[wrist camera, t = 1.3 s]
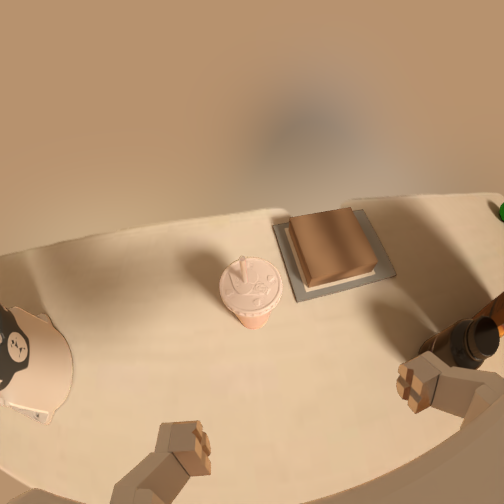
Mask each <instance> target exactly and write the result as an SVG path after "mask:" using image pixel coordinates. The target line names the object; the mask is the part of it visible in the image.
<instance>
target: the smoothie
mask: <svg viewBox="0 0 504 504" xmlns="http://www.w3.org/2000/svg"><path fill="white" fill-rule="evenodd" d="M219 291H220V296H221V298H222V301H223V303H224V304H225V305H226V307H227V308H228V309H229V310H231V311H232V312H234V313H235V315H236V316H237V317H238V319H239V320H240V321H241V323H242V324H243V325H244V326H245V327H246V328H249V329H259V328H261V327H263V326H264V325H265V324H266V322H267V320H268V318H269V315H270V313H271V311H272V309H273V308H274V307H275V306H276V305H277V303H278V302H279V300H280V298H281V295H282V279H281V276H280V273H279V272H278V270H277V269H276V267H275V266H274V265H273V264H271V263H270V262H268V261H266V260H264V259H261V258H257V257H246V258H245V256H240V257H239V259H238V260H236V261H234V262H233V263H231V264H230V265H229V266H228V267H227V268H226V269H225V270H224V271H223V273H222V275H221V278H220V281H219Z"/></svg>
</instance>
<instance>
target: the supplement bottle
mask: <svg viewBox="0 0 504 504" xmlns="http://www.w3.org/2000/svg"><path fill="white" fill-rule="evenodd" d="M499 342H500V336H499V329H498V327H497V325H496V323H495V322H494V320H493V319H492V318H490V317H488V316H481V317H479V318H478V319H476V320H473V319H462V320H460V321H458V322H456V323H455V324H453V325H452V326H450V327H448V328H447V329H445V330H443V331H442V332H440V333H438V334H437V335H435V336H433V337H431V338H430V339H428V340H427V341H426V342H425V343H424V344H423V345H422V347H421V349H420V351H419V355H421V354H423V353H425V352H427V351H430V352H432V353H433V354H434V355H435V356H437V357H438V358H439V359H440V360H442V361H443V362H444V363H445V364H447V365H448V366H449V367H450V368H451V367H460V368H466V369H473V370H477V369H478V368H479V367H480V366H481V365H482V363H483V362H484V360H485V359H487V358H488V357H491V356H492V355H493V354H495V352H496V351H497V349H498V346H499ZM419 355H418V356H419Z"/></svg>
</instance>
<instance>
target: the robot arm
mask: <svg viewBox="0 0 504 504" xmlns="http://www.w3.org/2000/svg"><path fill="white" fill-rule="evenodd" d="M398 373H399V374H400V376H399V377H398V379H397V383H396V387H397V392H398V394H399V396H400V397H401V398H402V399H404V400H408V406H409V407H410V409H411V410H412V411H413V412H414V413H415V414H417V413H419V412H420V411H422V410H424V409H426V408H428V407H430V406H431V407H433V408H436V409H439V410H441V411H444V412H447V413H450V414H453V415H456V416H459V417H461V418H464V420H463V422H462V424H461V427H460V430H459V431H458V432H457V433H455V434H454V435H452V436H451V437H449V438H448V439H446V440H445V441H443V442H442V443H440V444H439V445H437V446H436V447H434V448H432V449H431V450H429V451H428V452H426V453H424V454H422V455H421V456H419V457H417V458H415V459H414V460H412V461H410V462H408V463H406V464H404V465H402V466H400V467H398V468H396V469H394V470H392V471H390V472H388V473H386V474H384V475H382V476H380V477H377V478H375V479H373V480H370V481H368V482H366V483H363V484H361V485H358V486H355V487H353V488H350V489H347V490H345V491H342V492H339V493H336V494H333V495H330V496H326V497H323V498H320V499H316V500H313V501H309V502H305V503H301V504H504V378H502V377H501V376H500V375H498V374H497V373H495V372H487V371H480V370H473V369H466V368H460V367H451V368H450V367H449V366H448V365H447V364H445V363H444V362H443V361H442V360H440V359H439V358H438V357H437V356H435V355H434V354H433V353H432V352H430V351H427V352H425V353H423V354H421V355H419V356H417V357H415V358H413V359H411V360H409V361H407V362H405V363H402V364H400V366H399V367H398ZM72 376H73V364H72V357H71V352H70V349H69V346H68V344H67V342H66V340H65V339H64V337H63V336H62V335H61V334H60V333H59V332H58V331H57V330H56V329H55V328H54V327H53V326H52V323H51V321H50V318H49V317H48V316H47V315H46V314H43V313H41V314H39V315H37V316H34V315H32V314H30V313H28V312H26V311H25V310H23V309H21V308H19V307H17V306H14V307H13V308H9V309H7V308H6V307H5V306H4V305H2V304H1V303H0V405H1V406H5V407H10V408H12V409H14V410H16V411H17V412H19V413H21V414H23V415H25V416H27V417H29V418H31V419H33V420H35V421H37V422H39V423H41V424H45V425H48V424H49V423H50V421H51V419H52V416H53V414H54V412H55V410H56V409H57V408H58V407H59V406H61V405H62V403H63V402H64V401H65V399H66V397H67V395H68V393H69V391H70V387H71V383H72ZM202 427H203V426H202V424H201V422H200V421H198V420H197V421H184V422H170V423H162V424H161V425H160V428H159V432H158V437H157V442H156V447H155V452H154V453H150V454H149V455H148V456H147V457H146V458H145V459H143V460H142V461H141V462H140V463H139V464H138V465H137V466H136V467H135V468H134V469H132V470H131V471H130V472H129V473H128V474H127V475H126V476H124V477H123V478H122V479H121V480H120V481H119V482H117V483H116V484H115V486H114V489H113V493H112V497H111V501H110V504H171V503H172V502H173V500H174V499H175V498H176V496H177V495H178V494H179V492H180V491H181V489H182V488H183V487H184V485H185V484H186V483H187V481H188V480H189V478H190V477H191V476H204V475H211V462H210V460H209V458H208V456H209V455H210V454H211V448H210V442H209V439H208V436H207V434H206V433H205V432H203V431H202ZM7 504H85V503H82V502H78V501H74V500H71V499H68V498H65V497H61V496H58V495H55V494H53V493H50V492H47V491H45V490H42V489H38V488H34V489H31V490H28V491H26V492H24V493H22V494H21V495H19V496H17V497H15V498H13V499H12V500H10V501H9V502H8V503H7Z"/></svg>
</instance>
